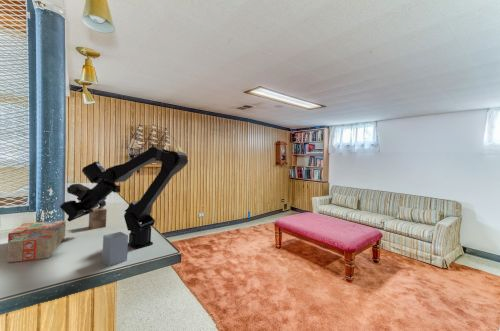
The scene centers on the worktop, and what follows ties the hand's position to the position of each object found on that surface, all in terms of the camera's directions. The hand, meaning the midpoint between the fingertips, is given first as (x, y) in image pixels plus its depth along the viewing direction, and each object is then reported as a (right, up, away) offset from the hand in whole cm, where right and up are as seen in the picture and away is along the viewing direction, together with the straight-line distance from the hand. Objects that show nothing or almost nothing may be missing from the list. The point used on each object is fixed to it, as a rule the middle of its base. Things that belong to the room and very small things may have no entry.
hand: (68, 220), depth 85 cm
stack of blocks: (+2, -4, -7) cm, 8 cm away
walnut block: (0, -7, +16) cm, 17 cm away
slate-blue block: (+27, -9, -16) cm, 32 cm away
